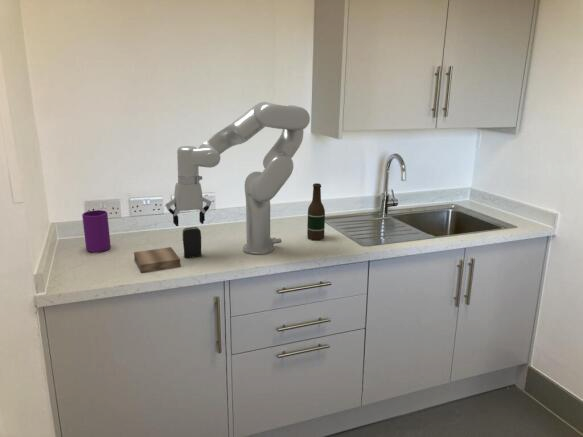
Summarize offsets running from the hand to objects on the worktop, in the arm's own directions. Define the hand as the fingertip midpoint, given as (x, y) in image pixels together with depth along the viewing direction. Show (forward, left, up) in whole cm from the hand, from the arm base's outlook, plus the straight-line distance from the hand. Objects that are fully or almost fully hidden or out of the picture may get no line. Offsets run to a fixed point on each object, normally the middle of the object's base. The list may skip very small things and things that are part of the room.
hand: (189, 224), depth 187 cm
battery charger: (-1, 0, -13) cm, 13 cm away
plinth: (+13, +2, -13) cm, 19 cm away
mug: (+31, -26, -13) cm, 43 cm away
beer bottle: (-55, +1, -13) cm, 56 cm away
